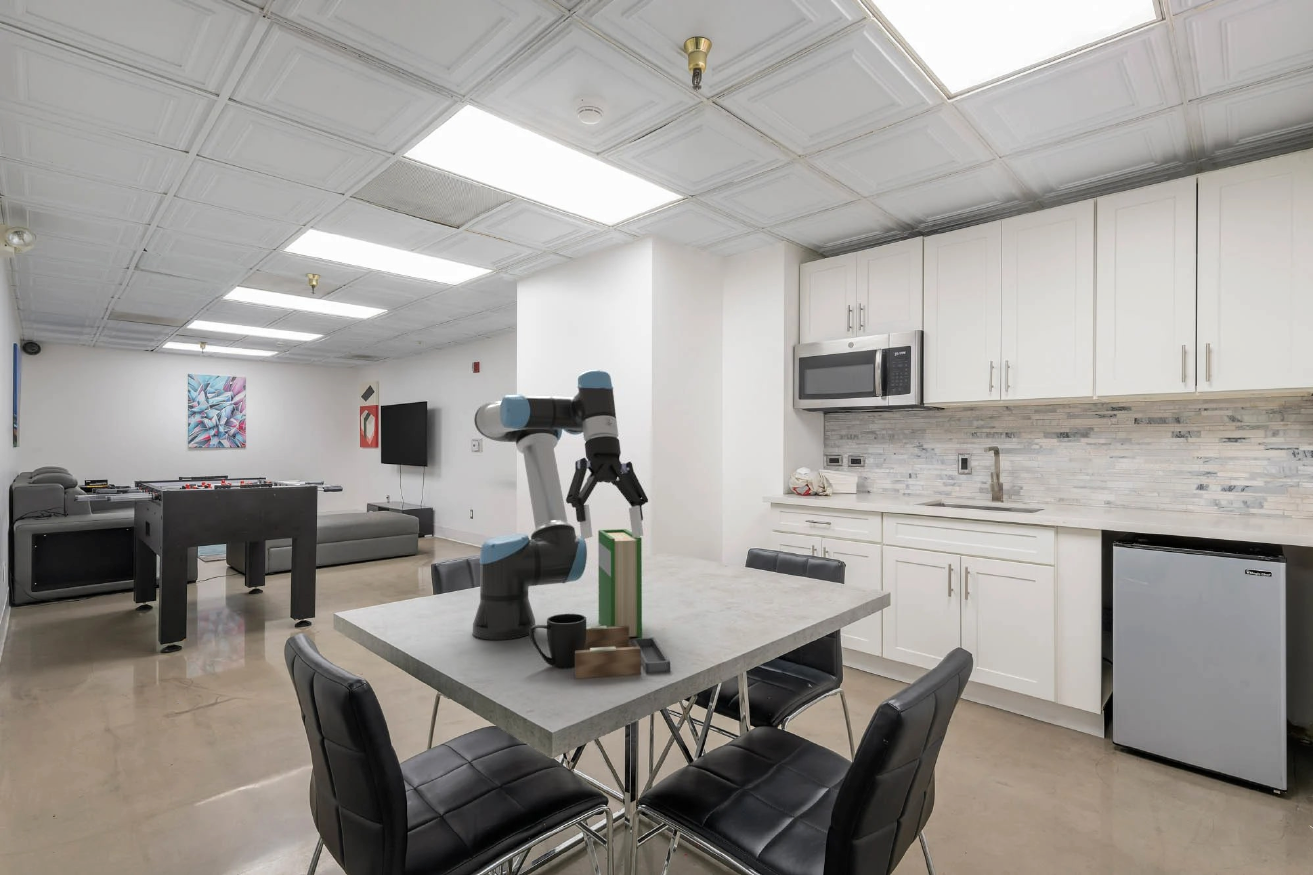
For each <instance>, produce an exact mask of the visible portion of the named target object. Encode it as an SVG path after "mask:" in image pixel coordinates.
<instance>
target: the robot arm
mask: <svg viewBox="0 0 1313 875" xmlns="http://www.w3.org/2000/svg"><path fill="white" fill-rule="evenodd" d="M577 389H578V392H577V393H576V394H575V396H574V397H573V396H572V397H571V396H570V397H569V396H546V395H545V396H542V395H526V394H525V395H522V394H508V395H505V396H503V397H502V399H501V400H499V401H498V400H497V401H489V402H487V403H483V404H482V405H481V406H480V407H478V408H477V410H476V412H475V414H474V419H473V420H474V425H475V428H476V431H478V432H479V434H480V435H482V436H483V437H485V438H487V439H490V440H492V441H497V442H501V443H502V442H505V443H507V442H508V443H515V444H516V449H517V451H518V452H520V454H523V460H524V465H525V466H524V467H525V472H526V476H527V477H526V478H527V484H528V491H529V496H530V503H531V510H532V515H533V521H534V522H533V523H534V527H535V528H534V529H535V530H533V532H532V533H531V535H530V538H529V535H527V534H525V533H517V534H507V535H501V536H497V537H494V538H490V539H488V540H485V541H484V542H483V543H482V545H481V547H480V554H479V564H480V566H479V569H480V574H479V584H480V588H479V591H480V595H479V598H480V600H479V603H478V608H477V610H476V613H475V617H474V620H473V622H472V635H473V636H474V637H476V638H479V639H482V640H483V639H484V640H492V641H494V640H496V641H498V640H510V639H511V640H512V639H518V638H522V637H525V636H528V635H529V636H530V628H531V627H532V626H536V619H535V615H534V611H533V609H532V607H531V603H530V599H529V587H535V586H546V585H555V584H566V583H569V582H576V581H578V580H579V579H581V578H582V576H583V574H584V573H585V570H586V565H587V559H588V548H587V542H586V539H589V538H592V537H593V530H592V522H591V513H590V512H591V511H590V504H586V502H587V501H588V498H590V496H591V494H592V492H593V490H594V488H595V487H596V485H597V484H598V483H607V484H610V483H611V484H612V485H613V486H615V487H616V488H617V489H618V490H619V492H620V493H621V494H622V496H623V497H624V499H625V500H626V502H628V504H629V505H630V506H631V507H629V508H628V512H629V513H628V514H629V520H630V526H631V532H632V537H633V538H636V537H643V536H644V529H643V524H642V523H643V520H644V516H643V507H642V506H644V505H645V504H647V503H648V502H649V498H648V497H647V494H646V492H645V491H644V488H643V487H642V485H641V483H640V480H639V479H638V477H637V474H636V473H635V471H634V467H633V463H632V461H628V462H624V463H622V462H621V460H620V456H621V453H622V451H621V443H620V439H619V438H618V437H619V430H618V421H617V415H616V414H617V413H616V403H615V396H614V387H613V384H612V378H611V375H610V374H609V373H608V372H607V371H605V370H600V369H599V370H597V369H595V370H594V369H593V370H587V371H584V372H582V373H581V374H579V376H578V378H577ZM563 431H564V432H565V433H567V434H569V435H573V436H574V435H575V436H576V435H580V434H583V440H584V441H585V443H584V449H585V450H584V451H585V457H582V458H579V459H578V460H576V461H575V468H574V469H575V471H574V474H573V477H572V480H571V483H570V486H569V489H568V493H567V494H566V495H567V496H566V499H565V502H566V503H567V504H570V506H571V507H572V508H574V509H575V517H576V521H577V523H579V529H580V535H576V531H575V530H576V529H575V527H574V526H573V525H572V524H570V523H569V522H568V518H567V512H566V508H565V502H564V497H563V496H564V495H563V491H562V487H561V482H560V481H561V480H560V474H559V471H558V464H557V460H556V453H555V448H556V447H557V446H558V443H559V440H561V437H562V435H563V434H562V433H563ZM587 470H588V471H589V472H590V473H589V475H588V477H587V478H586V481H585V484H584V480H585V477H586V473H587ZM583 484H584V485H583ZM582 486H583V487H582ZM535 631H536V629H534V632H535Z"/></svg>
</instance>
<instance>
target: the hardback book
mask: <svg viewBox="0 0 1313 875" xmlns="http://www.w3.org/2000/svg"><path fill="white" fill-rule="evenodd" d="M597 534H598V542H597V544H598V548H597V550H598V559H597V560H598V569H597V571H598V623H599V626H606V627H615V626H628V627H629V638H630V637H635V638H636V637H637V638H643V604H642V603H643V601H642V600H643V599H642V598H643V596H642V595H643V593H642V592H643V590H642V589H643V585H642V583H643V580H642V576H643V573H642V571H643V569H642V568H643V567H642V566H643V564H642V563H643V562H642V561H643V558H642V553H643V552H642V551H643V550H642V548H643V547H642V546H643V543H642V540H643V538H642V536H640V537H636V538H633V537H632V531H630V530H629V529H626V528H622V529H619V528H618V529H599V530H598V533H597ZM637 638H636V639H637Z"/></svg>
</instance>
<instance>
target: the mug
mask: <svg viewBox="0 0 1313 875" xmlns="http://www.w3.org/2000/svg"><path fill="white" fill-rule="evenodd" d="M586 627H587V617H586V616H585V615H583V614H579V613H559V614H555V615H552V616H549V617H548V618H547V619H546V625H545V624H537V625H536V624H535V626H532V627H531V628H530V634H529V639H530V640H531V642H532V644H533V646H534V647H535V649H536V650H537V652H538V653H539V654H540V656H541V658H542V659H543V660H544V662H545V663H546V664H547V665H549V666H554V667H555V668H557V669H573V668H574V669H575V651H577V650H584V646H585V641H586ZM534 629H535V630H536V629H546V638H547V646H548V650H549V654H550V657H549V656H547V655H546V654H545V653H544V652H543V651H542V649H541V647H540V646H539V644H538V643H537V641H536V638H535V634H534V632H535V631H534Z"/></svg>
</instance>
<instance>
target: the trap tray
mask: <svg viewBox="0 0 1313 875" xmlns="http://www.w3.org/2000/svg"><path fill="white" fill-rule="evenodd" d="M631 641H632V646H631V647H638V646H640V648H641V668H642V669H643V671H644V673H645V674H646V673H647V674H657V673H658V674H660V673H668V672H667V671H670V672H671V661H670V660H669V658H668V656H667V655H666V653H665V652H664V650H663V649H662V647H661V646H660V644H659V643H658V641H657V640H656V638H655V637H642V638H632V640H631ZM659 672H660V673H659Z"/></svg>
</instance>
